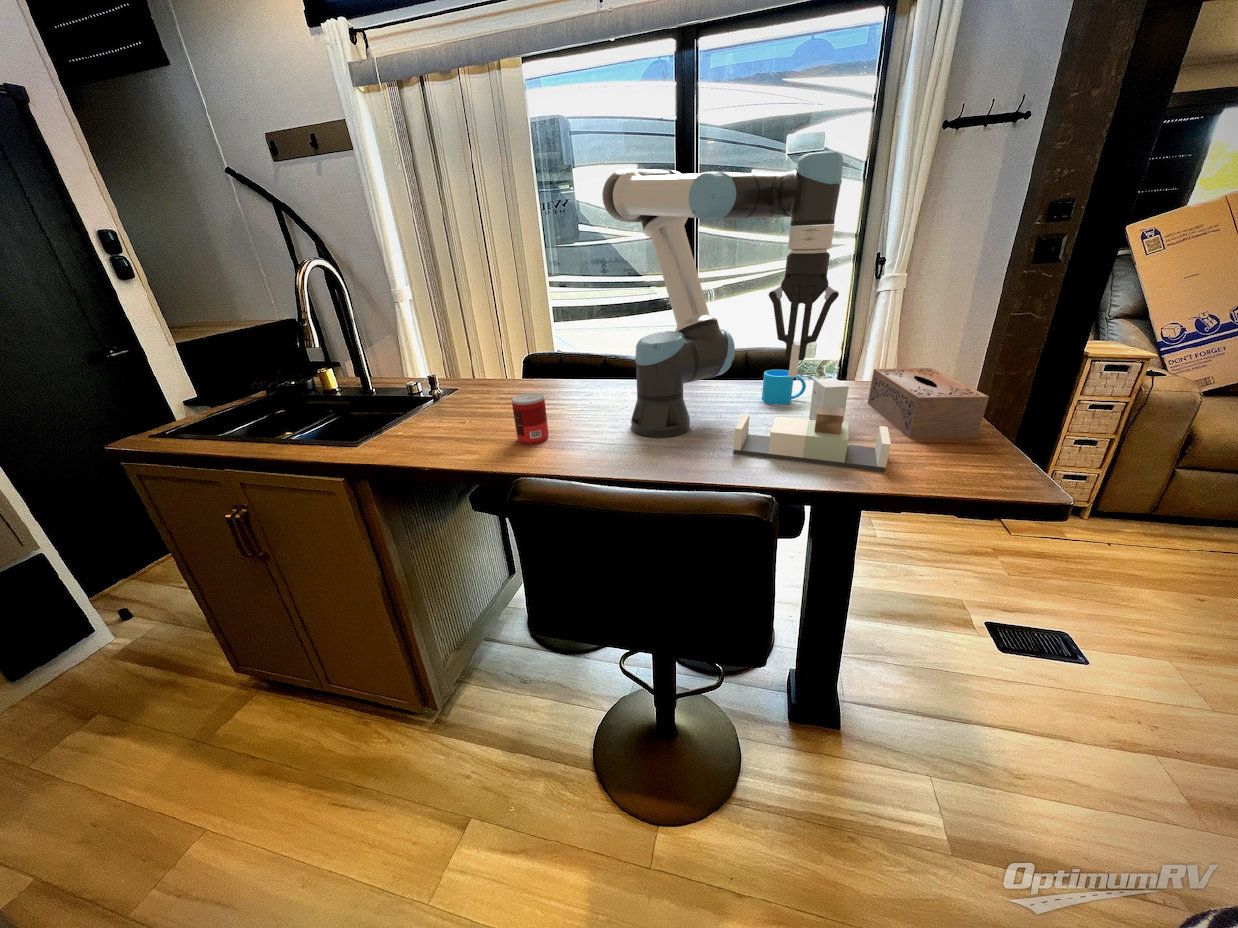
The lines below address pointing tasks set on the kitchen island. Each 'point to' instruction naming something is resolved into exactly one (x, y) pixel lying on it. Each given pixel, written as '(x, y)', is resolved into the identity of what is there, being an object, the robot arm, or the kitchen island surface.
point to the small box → (828, 395)
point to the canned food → (530, 418)
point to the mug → (779, 387)
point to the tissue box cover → (927, 403)
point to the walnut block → (829, 420)
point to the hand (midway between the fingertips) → (792, 375)
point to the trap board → (850, 459)
